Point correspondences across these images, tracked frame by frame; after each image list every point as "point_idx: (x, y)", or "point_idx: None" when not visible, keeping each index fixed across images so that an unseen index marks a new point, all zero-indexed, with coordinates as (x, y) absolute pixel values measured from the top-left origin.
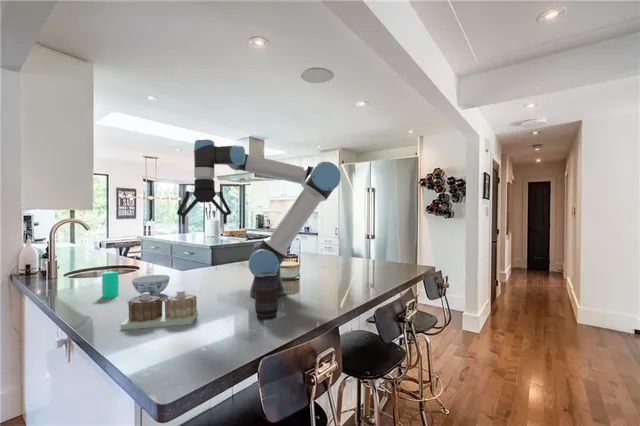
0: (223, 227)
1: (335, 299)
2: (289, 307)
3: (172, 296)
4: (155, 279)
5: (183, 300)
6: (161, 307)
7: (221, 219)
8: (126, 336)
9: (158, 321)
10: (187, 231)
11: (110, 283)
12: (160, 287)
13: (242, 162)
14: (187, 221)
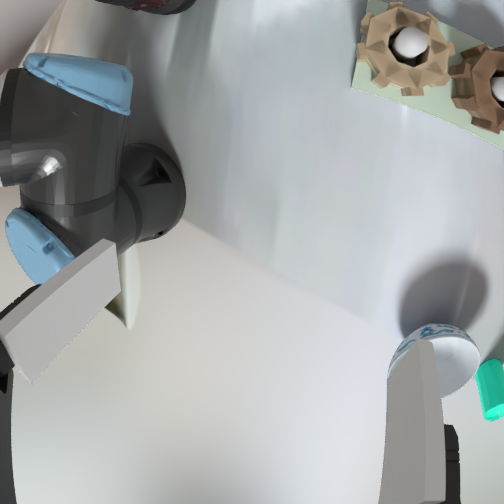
0: (73, 260)
1: None
2: (118, 52)
3: (436, 70)
4: None
5: (398, 7)
6: (457, 66)
7: (29, 312)
8: (499, 14)
9: (451, 28)
10: (407, 364)
11: (500, 383)
12: (421, 329)
13: None
14: (406, 455)
